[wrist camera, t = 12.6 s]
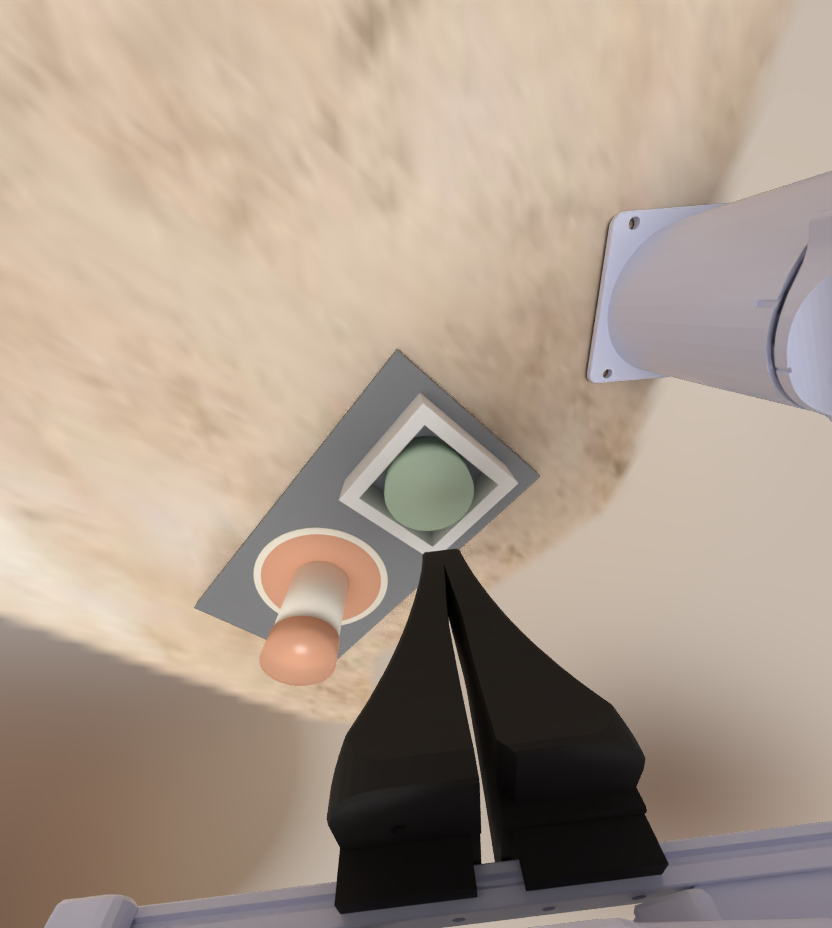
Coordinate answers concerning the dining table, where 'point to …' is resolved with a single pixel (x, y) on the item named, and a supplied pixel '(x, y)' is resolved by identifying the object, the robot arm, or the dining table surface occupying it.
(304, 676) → the white orange capped cylinder
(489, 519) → the grey rectangular tray
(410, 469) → the button
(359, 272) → the dining table surface
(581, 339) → the dining table surface
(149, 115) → the dining table surface
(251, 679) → the dining table surface
